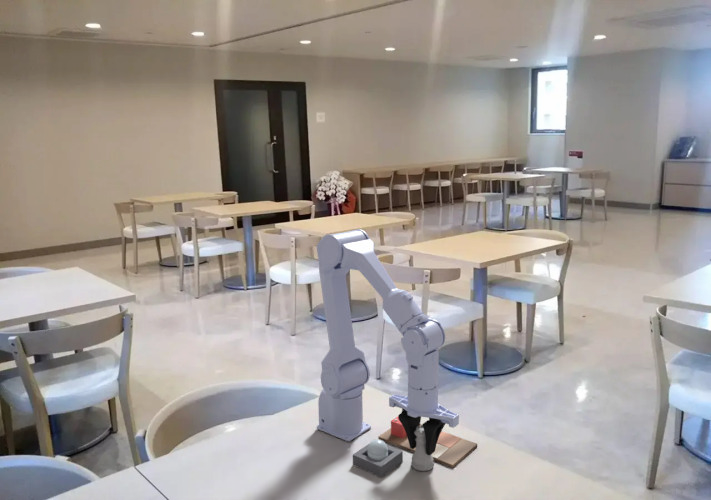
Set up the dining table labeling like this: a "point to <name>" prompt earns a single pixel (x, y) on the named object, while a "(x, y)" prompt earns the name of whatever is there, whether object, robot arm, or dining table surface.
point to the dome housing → (375, 466)
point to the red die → (397, 428)
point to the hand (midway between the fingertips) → (422, 449)
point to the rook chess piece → (421, 452)
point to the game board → (437, 447)
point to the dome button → (378, 450)
